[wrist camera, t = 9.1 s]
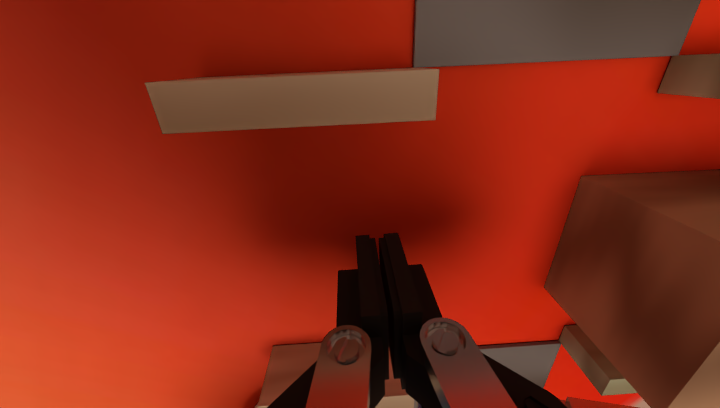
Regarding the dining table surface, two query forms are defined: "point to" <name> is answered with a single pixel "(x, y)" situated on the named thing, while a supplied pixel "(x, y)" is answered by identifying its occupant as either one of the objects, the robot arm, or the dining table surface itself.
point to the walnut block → (647, 280)
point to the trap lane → (418, 103)
